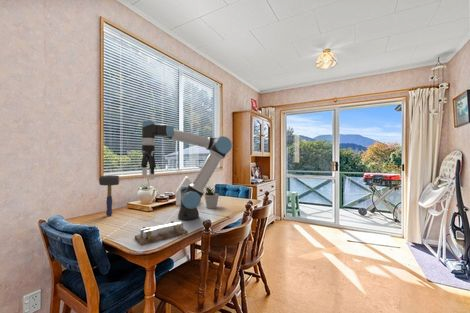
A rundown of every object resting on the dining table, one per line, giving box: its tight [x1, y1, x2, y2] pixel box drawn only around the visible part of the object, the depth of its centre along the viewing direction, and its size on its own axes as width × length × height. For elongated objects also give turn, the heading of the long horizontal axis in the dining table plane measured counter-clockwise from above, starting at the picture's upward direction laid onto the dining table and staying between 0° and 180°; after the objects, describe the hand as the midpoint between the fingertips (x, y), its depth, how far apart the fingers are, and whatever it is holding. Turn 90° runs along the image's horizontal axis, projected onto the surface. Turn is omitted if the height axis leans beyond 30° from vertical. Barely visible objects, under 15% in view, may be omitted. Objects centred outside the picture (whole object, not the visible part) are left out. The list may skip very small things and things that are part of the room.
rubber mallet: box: [98, 175, 120, 217], centre depth 161 cm, size 12×8×30 cm, turn 109°
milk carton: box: [175, 175, 193, 207], centre depth 205 cm, size 19×15×25 cm
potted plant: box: [204, 184, 220, 210], centre depth 190 cm, size 13×14×20 cm
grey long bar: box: [139, 221, 184, 240], centre depth 122 cm, size 23×6×4 cm, turn 131°
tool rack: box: [134, 220, 189, 246], centre depth 122 cm, size 26×12×6 cm, turn 130°
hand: (148, 178), depth 138 cm, fingers open, 13 cm apart
